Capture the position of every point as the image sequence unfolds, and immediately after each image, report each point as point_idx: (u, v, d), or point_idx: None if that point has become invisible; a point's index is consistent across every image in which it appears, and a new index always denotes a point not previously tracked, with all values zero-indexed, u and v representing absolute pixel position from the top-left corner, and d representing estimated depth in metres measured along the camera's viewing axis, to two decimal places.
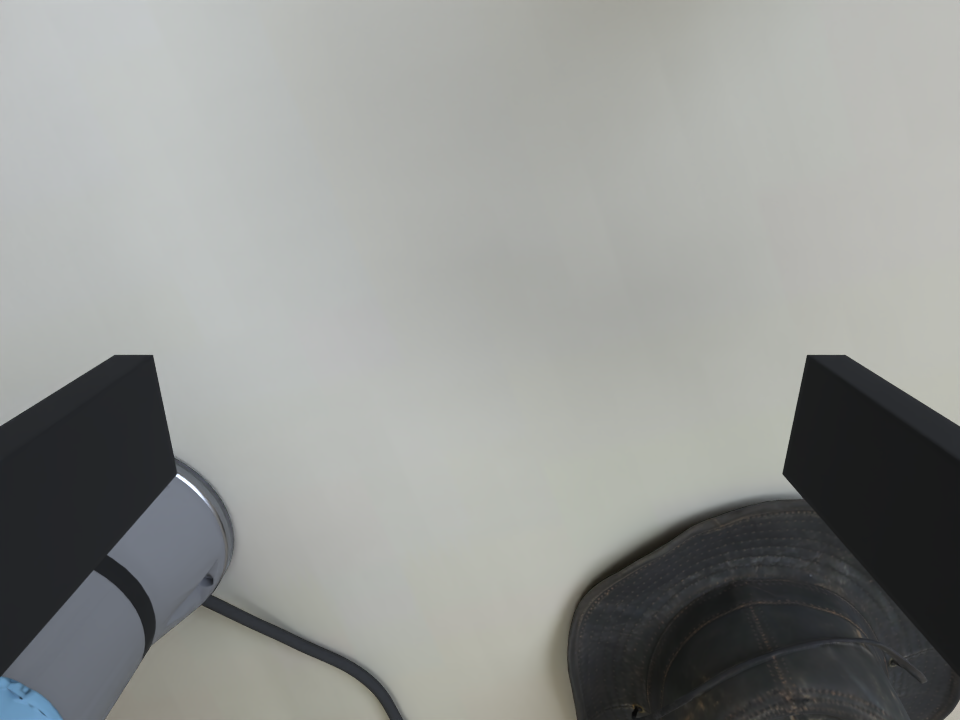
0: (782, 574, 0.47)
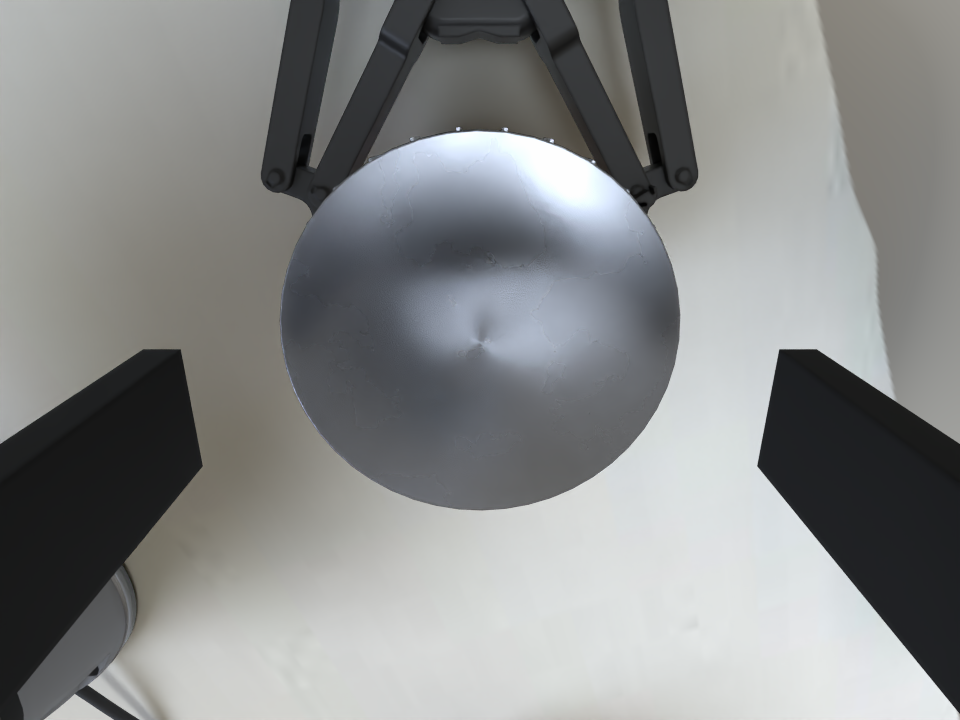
0: None
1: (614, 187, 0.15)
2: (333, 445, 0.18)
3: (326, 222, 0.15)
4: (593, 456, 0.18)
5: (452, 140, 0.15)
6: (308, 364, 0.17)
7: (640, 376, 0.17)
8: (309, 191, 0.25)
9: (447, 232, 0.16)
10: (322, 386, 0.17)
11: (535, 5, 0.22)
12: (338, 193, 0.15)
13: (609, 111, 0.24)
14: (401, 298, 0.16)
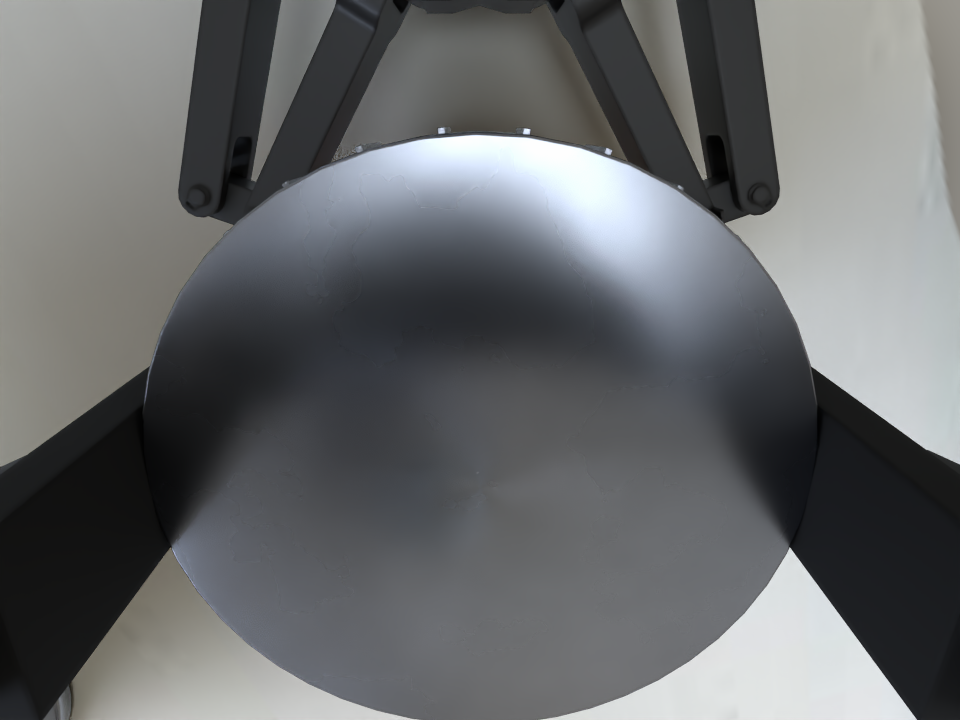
0: None
1: (721, 235, 0.08)
2: (245, 636, 0.11)
3: (210, 295, 0.09)
4: (661, 651, 0.11)
5: (430, 151, 0.08)
6: (196, 520, 0.10)
7: (744, 537, 0.10)
8: (245, 215, 0.18)
9: (423, 311, 0.09)
10: (222, 552, 0.10)
11: None
12: (228, 245, 0.09)
13: (660, 105, 0.17)
14: (346, 419, 0.09)
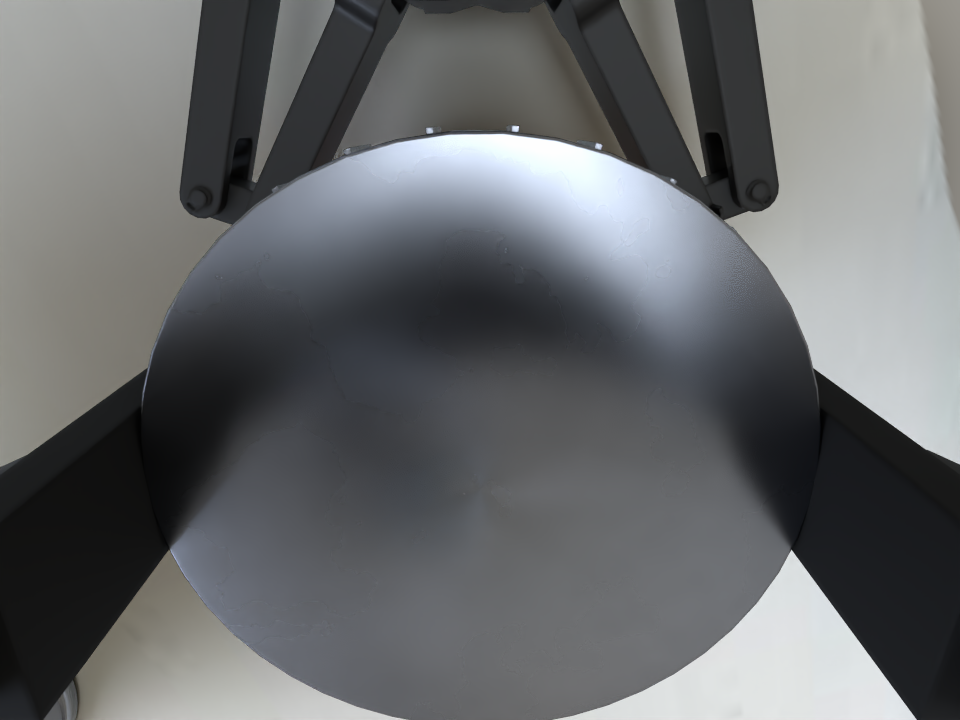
0: None
1: (163, 344, 0.09)
2: (694, 655, 0.11)
3: (351, 689, 0.11)
4: (685, 244, 0.08)
5: (191, 570, 0.10)
6: (561, 693, 0.12)
7: (489, 198, 0.08)
8: None
9: (318, 557, 0.10)
10: (594, 676, 0.11)
11: None
12: (310, 680, 0.11)
13: (658, 103, 0.17)
14: (433, 599, 0.11)
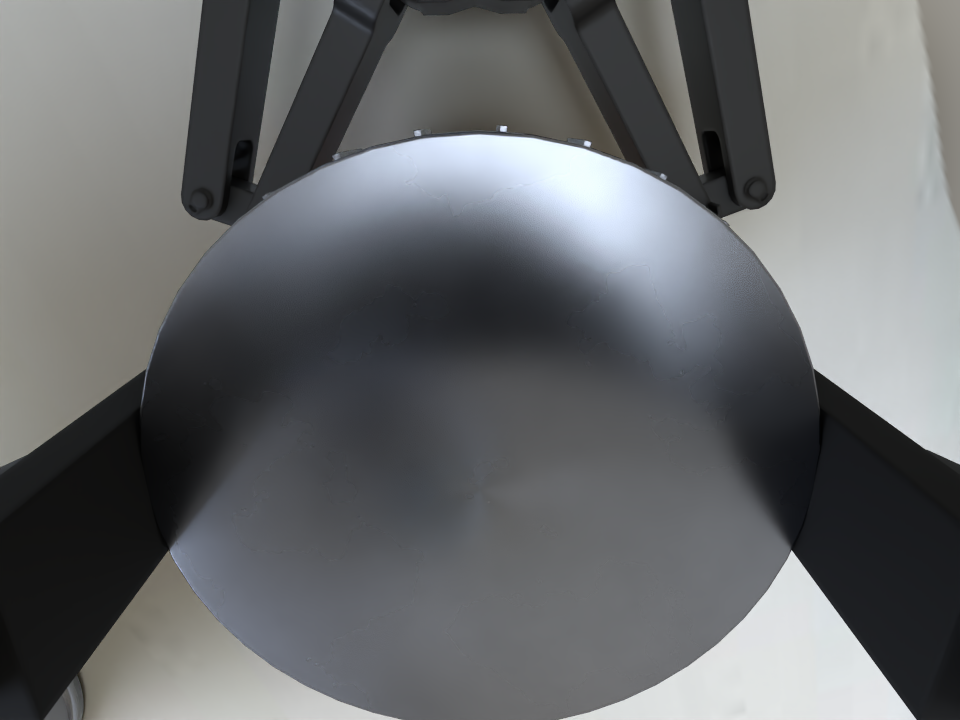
0: None
1: (398, 715, 0.12)
2: (684, 201, 0.08)
3: (760, 566, 0.10)
4: (185, 372, 0.09)
5: (614, 695, 0.12)
6: (760, 352, 0.09)
7: (208, 528, 0.10)
8: None
9: (586, 609, 0.11)
10: (728, 320, 0.09)
11: None
12: (749, 602, 0.11)
13: (655, 102, 0.17)
14: (625, 508, 0.10)
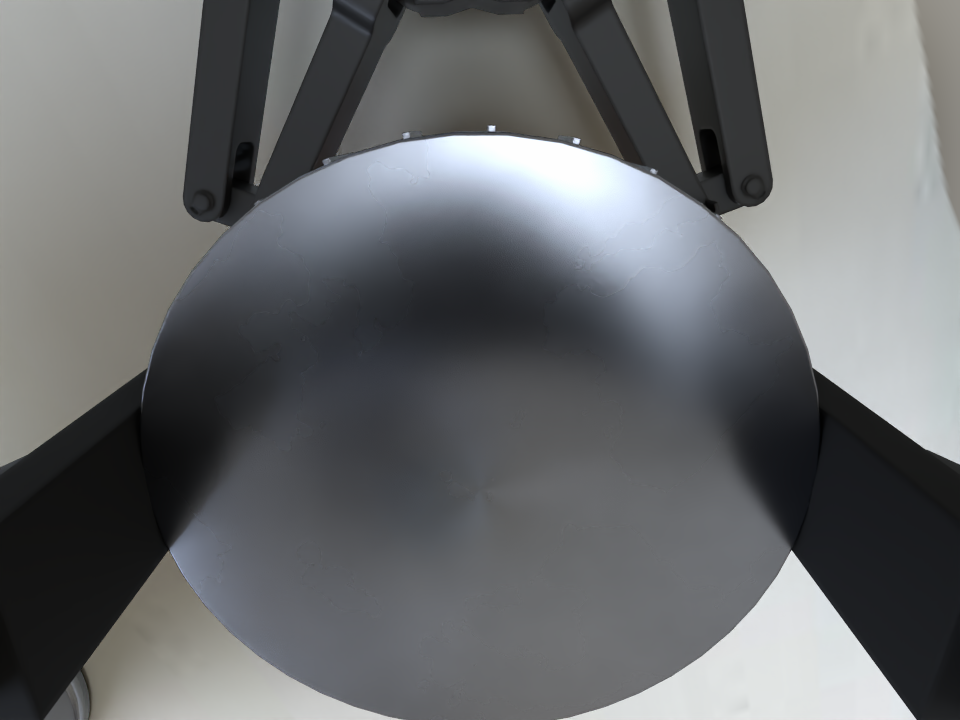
0: None
1: (797, 520, 0.10)
2: (150, 383, 0.09)
3: (525, 164, 0.08)
4: (418, 701, 0.12)
5: (760, 285, 0.09)
6: (258, 268, 0.09)
7: (564, 685, 0.11)
8: None
9: (618, 355, 0.09)
10: (238, 311, 0.09)
11: None
12: (584, 157, 0.08)
13: (652, 101, 0.17)
14: (473, 349, 0.09)
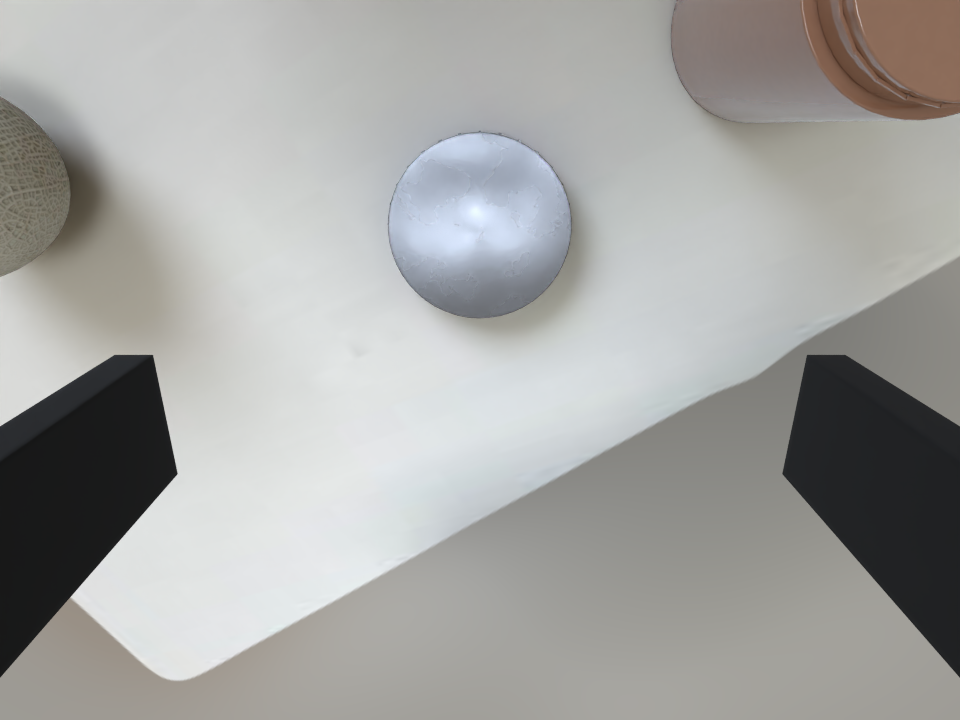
0: None
1: (471, 135, 0.34)
2: (465, 315, 0.38)
3: (395, 236, 0.36)
4: (561, 234, 0.36)
5: (408, 172, 0.35)
6: (431, 292, 0.37)
7: (547, 188, 0.35)
8: None
9: (433, 203, 0.36)
10: (443, 296, 0.38)
11: None
12: (390, 223, 0.36)
13: None
14: (440, 240, 0.36)
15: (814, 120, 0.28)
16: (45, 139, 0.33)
